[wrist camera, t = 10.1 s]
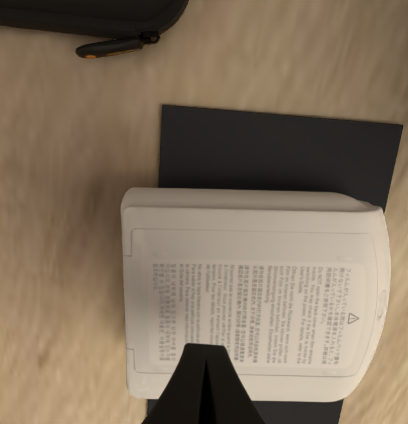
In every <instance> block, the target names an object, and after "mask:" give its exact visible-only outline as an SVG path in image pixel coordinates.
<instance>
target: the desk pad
mask: <svg viewBox="0 0 408 424" xmlns="http://www.w3.org/2000/svg"><path fill="white" fill-rule="evenodd" d="M402 130H403V125H397V124H385V123H373V122H361V121H350V120H338V119H326V118H314V117H302V116H291V115H279V114H267V113H255V112H243V111H231V110H220V109H208V108H196V107H184V106H172V105H163V106H162V126H161V147H160V167H159V188H187V189H228V190H267V191H305V192H333V193H339V194H343V195H347V196H349V197H352V198H354V199H356V200H360V201H365V202H368V203H370V204H371V205H373V206H379V207H381V208H382V210H383V214H384V212H385V207H386V203H387V198H388V194H389V189H390V184H391V180H392V175H393V171H394V166H395V162H396V157H397V152H398V148H399V143H400V139H401V134H402ZM343 399H344V398H343ZM343 399H341V400H338V401H334V402H304V401H253V400H252V402H253V404H254V405H255V407H256V408H257V410H258V412H259V413H260V415H261V416H262V418H263V419H264V421H265V422H266V424H338V422H339V417H340V413H341V408H342V404H343ZM157 400H158V399H148V414H149V412H150V411H151V409H152V408H153V406H154V405H155V403H156V402H157ZM148 414H147V415H148Z"/></svg>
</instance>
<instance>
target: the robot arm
mask: <svg viewBox="0 0 408 424" xmlns="http://www.w3.org/2000/svg"><path fill="white" fill-rule="evenodd" d="M141 424H266V422H265V421H264V419H263V418H262V416H261V415H260V413H259V412H258V410H257V408H256V407H255V405H254V404H253V402H252V400H251V399H250V397H249V395H248V393H247V391H246V390H245V388H244V386H243V384H242V382H241V380H240V379H239V377H238V375H237V372H236V370H235V368H234V366H233V364H232V362H231V359H230V357H229V354H228V352H227V349H226V348H225V346H224V345H212V344H199V343H187V344H186V345H184V349H183V352H182V355H181V358H180V360H179V362H178V365H177V367H176V369H175V371H174V373H173V375H172V376H171V378H170V380H169V382H168V384H167V386H166V387H165V389H164V391H163V392H162V394H161V395H160V397H159V399H158V400H157V402H156V403H155V405H154V406H153V408H152V409H151V411H150V412H149V414H148V415H147V417H146V418H145V419H144V421H143V422H142V423H141Z"/></svg>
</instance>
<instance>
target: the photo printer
mask: <svg viewBox="0 0 408 424" xmlns="http://www.w3.org/2000/svg"><path fill="white" fill-rule="evenodd" d="M121 224H122V251H123V279H124V307H125V335H126V385H127V389H128V391H129V394H130V395H131V396H133V397H136V398H143V399H159V397H160V395H161V394H162V392H163V391H164V389H165V387H166V386H167V384H168V382H169V380H170V378H171V376H172V375H173V373H174V371H175V369H176V367H177V365H178V362H179V360H180V358H181V355H182V352H183V349H184V345H186V344H187V343H199V344H212V345H224V346H225V348H226V349H227V352H228V354H229V357H230V359H231V362H232V364H233V366H234V368H235V370H236V372H237V375H238V377H239V379H240V380H241V382H242V384H243V386H244V388H245V390H246V391H247V393H248V395H249V397H250V399H251V400H253V401H304V402H334V401H338V400H341V399H343V398H345V397H347V396H349V395H350V394H351V393H352V392H353V391H354V389H355V388H356V387H357V385H358V384H359V382H360V381H361V379H362V378H363V376H364V375H365V373H366V371H367V369H368V367H369V365H370V363H371V361H372V358H373V356H374V354H375V351H376V348H377V346H378V343H379V340H380V337H381V333H382V330H383V326H384V322H385V318H386V313H387V307H388V300H389V293H390V279H391V257H390V245H389V237H388V230H387V226H386V221H385V217H384V214H383V210H382V208H381V207H379V206H373V205H371V204H370V203H368V202H365V201H360V200H356V199H354V198H352V197H349V196H347V195H343V194H339V193H333V192H305V191H267V190H228V189H187V188H142V187H134V188H130V189H129V190H128V191H127V192H126V193H125V195H124V197H123V200H122V203H121Z"/></svg>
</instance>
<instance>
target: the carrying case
mask: <svg viewBox="0 0 408 424" xmlns="http://www.w3.org/2000/svg"><path fill="white" fill-rule="evenodd" d="M188 1H189V0H0V26H8V27H17V28H26V29H35V30H43V31H52V32H61V33H70V34H79V35H87V36H96V37H105V38H114V39H115V40H108V41H103V42H97V43H91V44H86V45H83V46H81V47H79V48H77V49H76V51H75V53H76V54H77V55H78V56H79V57H82V58H99V57H105V56H112V55H118V54H123V53H128V52H133V51H137V50H141V49H142V48H143V45H145V44H147V45H149V44H155V43H158V41H159V39H160V34H161V33H163V32H165V31H166V30H168V29H169V28H170V27H172V26H173V25H174V24H175V23H176V22H177V21H178V20H179V18H180V17H181V15H182V14H183V12H184V10H185V8H186V6H187V4H188Z"/></svg>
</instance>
